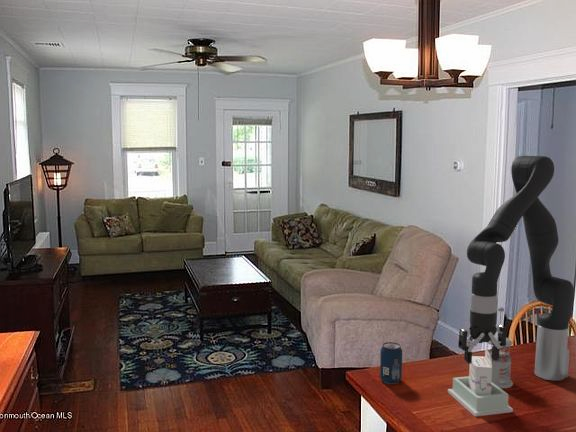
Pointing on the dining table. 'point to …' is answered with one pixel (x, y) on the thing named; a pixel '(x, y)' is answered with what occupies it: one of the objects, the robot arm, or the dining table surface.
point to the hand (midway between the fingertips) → (481, 361)
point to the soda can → (391, 363)
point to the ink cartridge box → (481, 374)
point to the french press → (501, 364)
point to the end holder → (480, 398)
